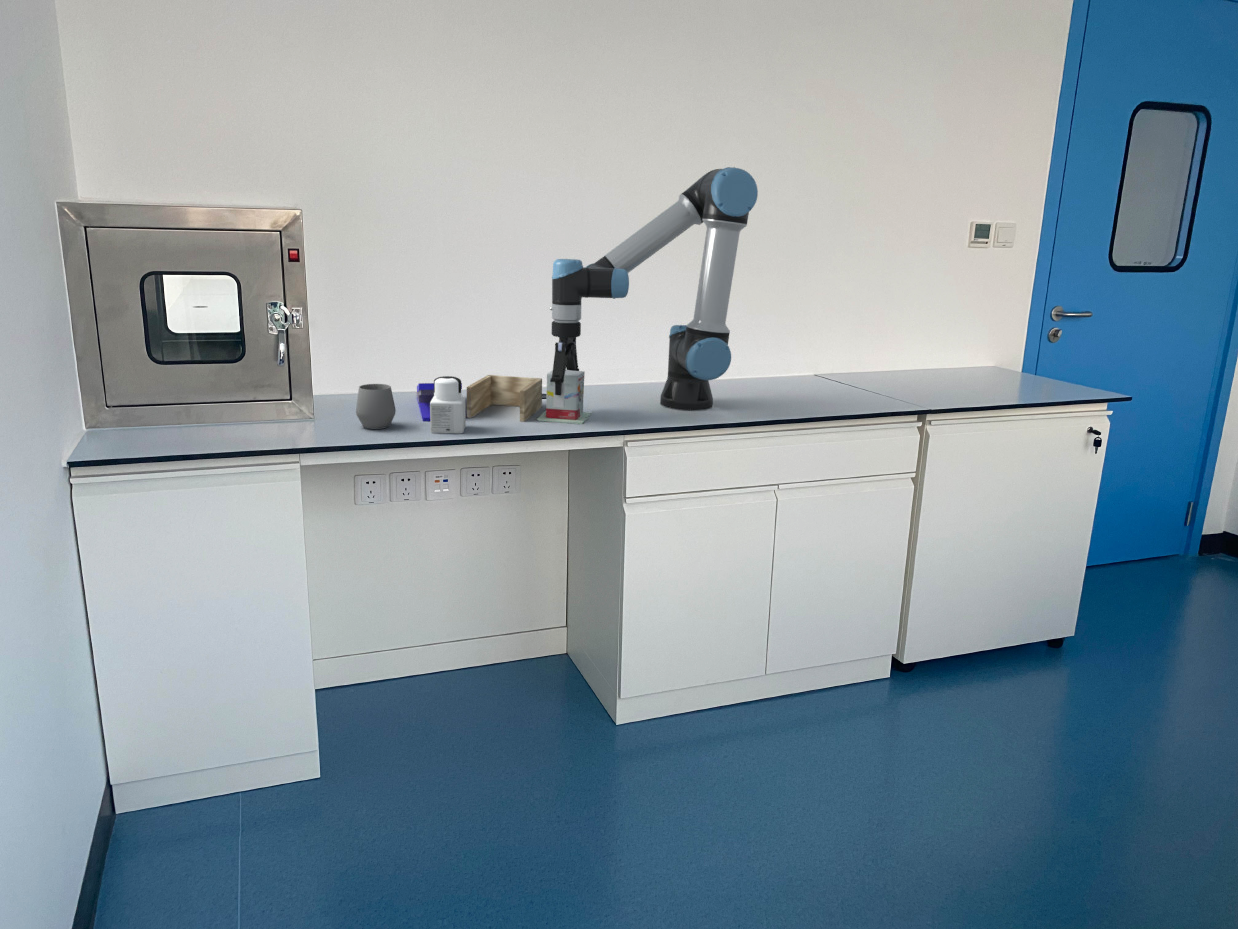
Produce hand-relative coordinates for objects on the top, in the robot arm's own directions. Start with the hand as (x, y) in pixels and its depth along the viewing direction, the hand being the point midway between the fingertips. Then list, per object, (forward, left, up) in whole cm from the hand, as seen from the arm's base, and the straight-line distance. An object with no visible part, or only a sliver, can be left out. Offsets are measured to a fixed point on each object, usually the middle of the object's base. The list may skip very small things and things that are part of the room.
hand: (564, 401), depth 231 cm
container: (+24, +22, -4) cm, 33 cm away
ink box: (0, 0, -4) cm, 4 cm away
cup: (+42, +24, -4) cm, 48 cm away
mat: (0, 0, -4) cm, 4 cm away
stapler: (+35, +1, -5) cm, 35 cm away
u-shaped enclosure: (+17, -1, -4) cm, 17 cm away
